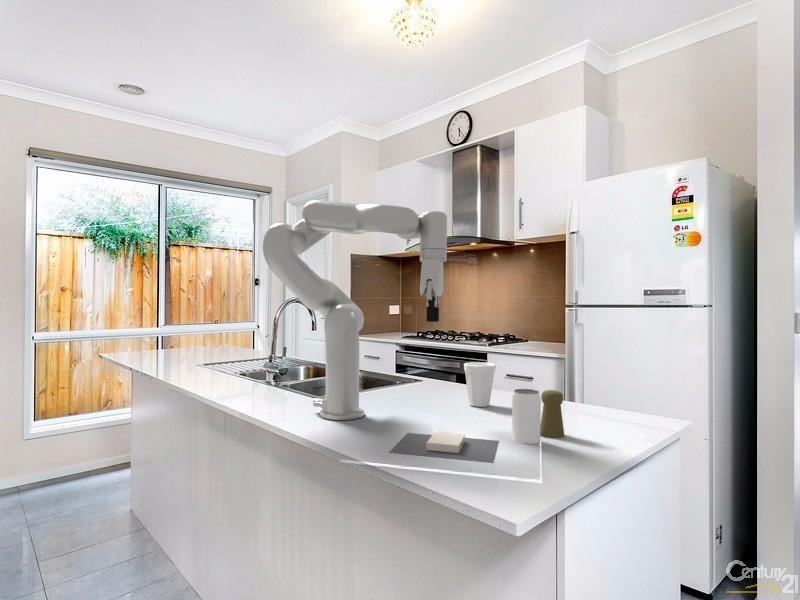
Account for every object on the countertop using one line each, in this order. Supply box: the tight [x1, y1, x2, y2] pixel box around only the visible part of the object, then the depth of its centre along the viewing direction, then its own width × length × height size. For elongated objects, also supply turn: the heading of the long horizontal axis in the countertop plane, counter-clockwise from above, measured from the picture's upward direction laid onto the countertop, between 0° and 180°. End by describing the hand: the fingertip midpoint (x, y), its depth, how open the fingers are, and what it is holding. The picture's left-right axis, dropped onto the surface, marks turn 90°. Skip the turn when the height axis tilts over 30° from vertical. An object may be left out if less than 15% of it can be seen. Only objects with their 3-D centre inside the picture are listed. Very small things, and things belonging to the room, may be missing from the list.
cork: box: [540, 389, 565, 439], centre depth 121 cm, size 6×6×11 cm
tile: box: [427, 431, 466, 453], centre depth 109 cm, size 7×2×9 cm
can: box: [511, 388, 542, 445], centre depth 115 cm, size 6×6×12 cm
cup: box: [463, 361, 496, 408], centre depth 154 cm, size 10×10×13 cm
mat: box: [388, 432, 500, 464], centre depth 109 cm, size 22×16×1 cm
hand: (432, 321), depth 137 cm, fingers closed
